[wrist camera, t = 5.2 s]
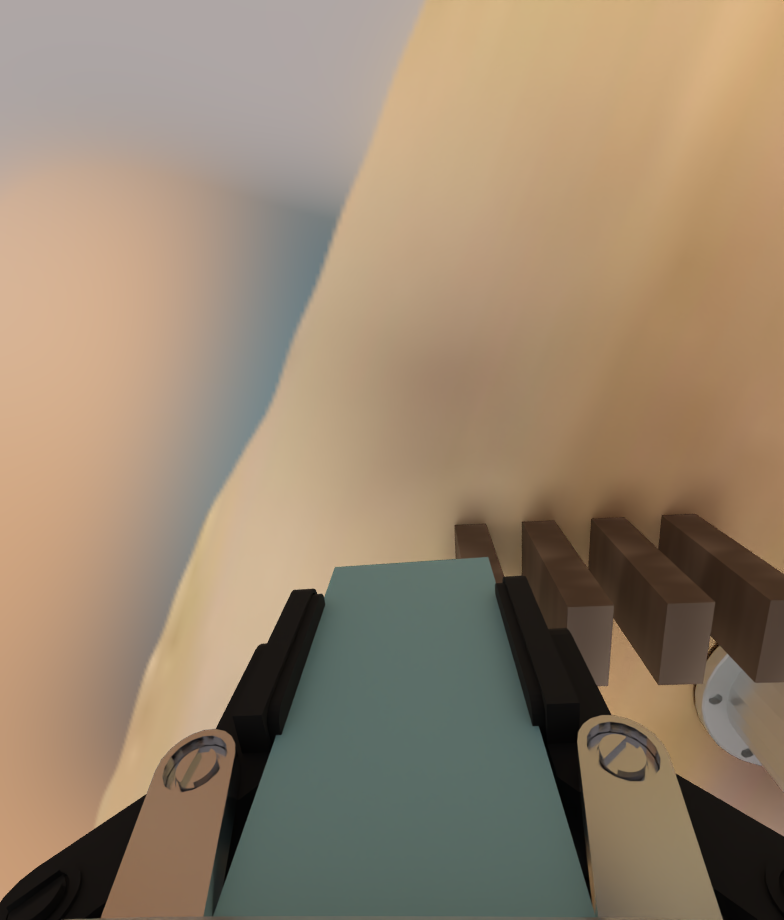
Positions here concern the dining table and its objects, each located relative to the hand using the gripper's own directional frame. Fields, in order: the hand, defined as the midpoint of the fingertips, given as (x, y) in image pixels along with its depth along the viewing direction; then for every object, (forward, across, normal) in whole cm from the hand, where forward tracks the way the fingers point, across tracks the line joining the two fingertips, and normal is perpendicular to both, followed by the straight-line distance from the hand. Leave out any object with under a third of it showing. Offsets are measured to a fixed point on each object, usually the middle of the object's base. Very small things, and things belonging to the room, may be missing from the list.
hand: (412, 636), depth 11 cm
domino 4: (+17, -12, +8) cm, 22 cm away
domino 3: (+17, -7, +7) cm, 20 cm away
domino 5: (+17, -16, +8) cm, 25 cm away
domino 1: (+2, 0, 0) cm, 2 cm away
